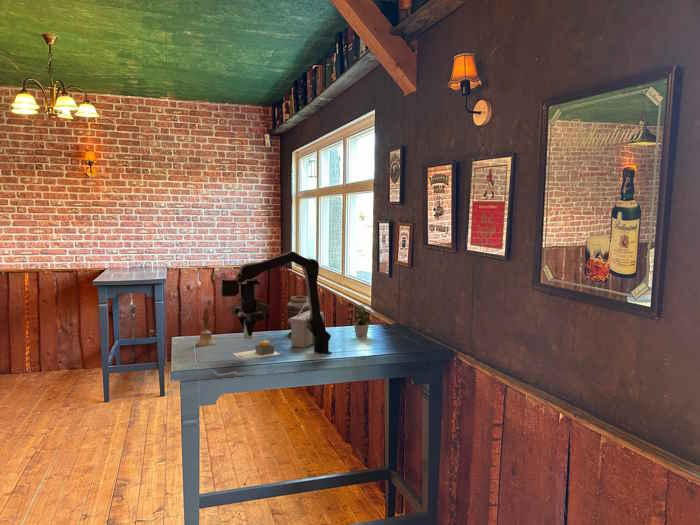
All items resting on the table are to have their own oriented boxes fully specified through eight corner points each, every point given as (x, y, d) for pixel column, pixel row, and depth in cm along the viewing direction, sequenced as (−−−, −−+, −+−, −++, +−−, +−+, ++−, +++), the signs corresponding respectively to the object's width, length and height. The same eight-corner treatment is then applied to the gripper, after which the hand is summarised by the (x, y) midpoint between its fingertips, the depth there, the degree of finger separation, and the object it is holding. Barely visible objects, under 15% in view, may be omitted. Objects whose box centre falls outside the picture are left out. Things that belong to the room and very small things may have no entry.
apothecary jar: (283, 335, 248) (283, 298, 246) (292, 330, 259) (292, 294, 258) (307, 337, 245) (307, 299, 243) (315, 331, 256) (315, 295, 255)
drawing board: (280, 356, 212) (280, 353, 211) (243, 361, 202) (243, 359, 202) (268, 350, 220) (268, 347, 220) (232, 355, 211) (232, 353, 211)
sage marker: (253, 338, 206) (253, 320, 205) (245, 339, 204) (245, 320, 204) (250, 337, 209) (250, 318, 208) (242, 338, 207) (242, 319, 206)
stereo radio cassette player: (305, 350, 221) (306, 303, 219) (288, 348, 224) (288, 302, 222) (324, 339, 241) (324, 296, 239) (308, 338, 244) (308, 295, 242)
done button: (270, 346, 213) (270, 342, 213) (262, 348, 211) (262, 343, 211) (266, 344, 216) (266, 340, 216) (258, 346, 214) (258, 341, 214)
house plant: (339, 334, 251) (340, 301, 250) (365, 332, 257) (365, 299, 256) (352, 341, 238) (352, 305, 237) (378, 338, 244) (379, 304, 243)
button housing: (274, 352, 213) (274, 345, 213) (261, 354, 210) (261, 347, 210) (268, 349, 218) (268, 342, 218) (255, 351, 215) (255, 344, 214)
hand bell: (208, 340, 235) (207, 306, 234) (219, 343, 230) (219, 308, 229) (192, 344, 229) (191, 308, 228) (203, 347, 224) (203, 310, 222)
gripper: (277, 297, 202) (277, 337, 203) (256, 291, 217) (256, 328, 219) (250, 299, 196) (250, 340, 197) (231, 293, 211) (231, 331, 212)
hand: (248, 334), depth 206 cm, fingers closed on sage marker, 3 cm apart
